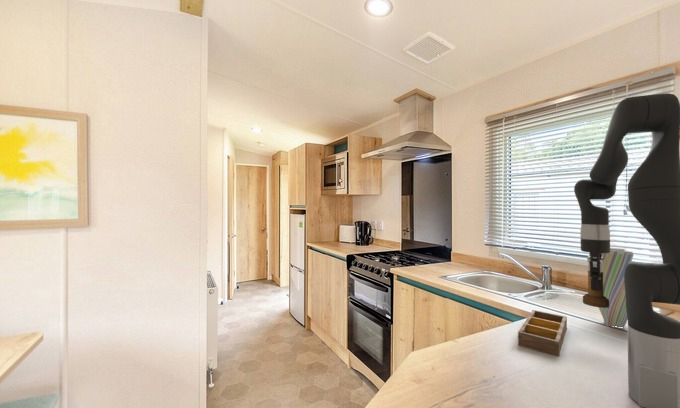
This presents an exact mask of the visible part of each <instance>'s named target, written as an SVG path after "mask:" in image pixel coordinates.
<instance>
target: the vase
mask: <svg viewBox="0 0 680 408" xmlns="http://www.w3.org/2000/svg"><path fill="white" fill-rule="evenodd" d="M634 255H635V253H634V252H633V251H632V250H629V249H627V248H620V247H610V253H601V258H603V264H602V272H603V296H605V297H606V298H607V299H608V300H609V307H608V308H600V307H598V309H599V312H600V313H601V316H602V319H603V323H604V324H605V323H606V324H605V326H606V325H607V326H606V327H609V326H611V327H610V328H615V326H617V327H623V328H624V329H625V327H626V324H627V323H628V317H627V311H626V295H625V284H624V273H625V269H626V267H627V265H628V264H630V263H633V258H634ZM612 326H614V327H612Z"/></svg>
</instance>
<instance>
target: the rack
mask: <svg viewBox="0 0 680 408" xmlns="http://www.w3.org/2000/svg"><path fill="white" fill-rule="evenodd" d="M567 329H568V317H567V316H564V315H559V314H555V313H552V312H547V311H545V312H544V311H540V310H536V309H532V310H531V312H530V313H529V314H528V316H527V318H526V319H525V321H524V322H523V324H522V325H521V326H520V328H519V330H518V331H517V344H518V346H519V347H523V348H527V349H530V350H534V351H537V352H541V353H543V354H544V353H545V354H547V355H551V356H555V357H560V354H561V350H562V346H563V343H564V340H565V337H566V332H567Z"/></svg>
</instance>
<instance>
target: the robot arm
mask: <svg viewBox="0 0 680 408" xmlns="http://www.w3.org/2000/svg"><path fill="white" fill-rule="evenodd" d="M641 133H651V136H652V138H651V140H652V141H651V147H650V151H649V152H648V154H647V156H646V158H645V159H644V161H642V163H641V164H640V165H639V166H638V168H637V169H636V170H635V171H634V173H633V175H632V176H631V177H630V179H629V181H628V183H627V197H628V198H627V199H628V208H629V211H630V213H631V215H632V216H633V218H634V219H636V221H637V222H638V223H639V224H640V225H641V226H642V228H643V229H645V230H646V231H647V233H648V234H649V235H650V236H651V237H652V238H653V239H654V241H655V243H656V244H657V246H658V248H659V250H660V254H661V258H662V263H657V262H656V263H655V262H642V261H641V262H640V261H639V262H638V261H637V262H636V261H634V262H633V261H632V263H630V264H628V265H627V267H626V269H625V273H624V284H625V295H626V311H627V317H628V320H627V373H628V374H627V375H628V377H627V383H628V384H627V385H628V387H627V389H628V391H627V393H628V396H629V395H630V396H629V397H630V398H631V399H632V400H634V401H635V403H637V404H638V406H639V407H642V408H680V321H679V320H677V319H675V318H673V317H671V316H667V315H664V314H662V313H659V312H657V311H655V310H654V308H653V303H659V304H668V305H680V100H679V98H678V97H677V95H675V94H673V93H666V92H665V93H657V94H646V95H635V96H629V97H625V98H624V99H622V100H621V101H619V102H618V104H617V105H616V107H615V109H614V111H613V113H612V115H611V119H610V122H609V125H608V128H607V131H606V134H605V137H604V141H603V144H602V148H601V151H600V153H599V155H598V157H597V158H596V161H595V162H594V164H593V166H592V168H591V169H590V172H589V178H590V179H589V178H585V179H580V180H578V181H577V182H576V183H575V184H574V188H573V192H574V195H575V198H576V199H577V200H576V201H577V202H578V206H579V210H580V217H581V218H580V219H581V221H580V222H581V225H580V229H579V230H580V234H579V235H580V251H581V252H584V253H590V254H591V257H590V256H587V264H588V265H587V267H588V268H587V269H588V270H587V271H590V279H591V290H594V291H600V279H601V276H600V273H601V272H602V264H603V258H600V256H599V255H600V253H610V248H611V229H610V223H609V221H610V213H609V209H608V208H606V207H605V206H604V207H603V206H597V205H594V204H593V203H592V201H596V200H597V201H599V200H600V201H601V200H609V199H612V197H614V196H615V195H616V190H617V183H618V180H619V177H620V176H621V175H622V173H624V171H625V169H626V167H627V165H628V162H629V155H628V152H627V150H626V148H625V146H624V143H623V140H624V138H625V137H626V135H628V134H641ZM592 272H598V275H597V274H592Z"/></svg>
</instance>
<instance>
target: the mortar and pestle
mask: <svg viewBox="0 0 680 408" xmlns="http://www.w3.org/2000/svg"><path fill="white" fill-rule="evenodd" d="M588 253H589V252H588ZM588 255H589V256H588V257H591V254H590V253H589V254H588ZM599 256H600V258H601V253H600V255H599ZM592 274H597V275H598V272H592ZM600 276H601V279H600V291H594V290H591V279H590V271H589V270H587V293H586V294H584V295H583V296H582V303H583V304H584V305H586V306H588V307H589V306H591V307H595V308H599V307H600V308H608V307H609V300H608V299H607V298H606V297H605V296H603V272H601V273H600Z"/></svg>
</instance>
